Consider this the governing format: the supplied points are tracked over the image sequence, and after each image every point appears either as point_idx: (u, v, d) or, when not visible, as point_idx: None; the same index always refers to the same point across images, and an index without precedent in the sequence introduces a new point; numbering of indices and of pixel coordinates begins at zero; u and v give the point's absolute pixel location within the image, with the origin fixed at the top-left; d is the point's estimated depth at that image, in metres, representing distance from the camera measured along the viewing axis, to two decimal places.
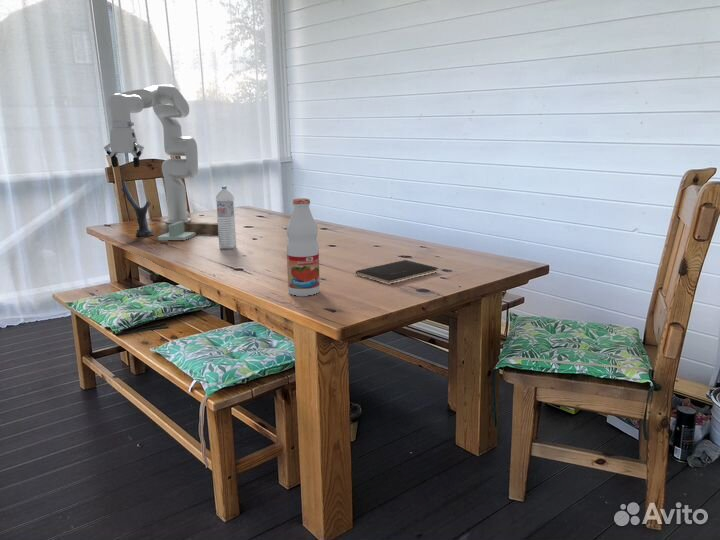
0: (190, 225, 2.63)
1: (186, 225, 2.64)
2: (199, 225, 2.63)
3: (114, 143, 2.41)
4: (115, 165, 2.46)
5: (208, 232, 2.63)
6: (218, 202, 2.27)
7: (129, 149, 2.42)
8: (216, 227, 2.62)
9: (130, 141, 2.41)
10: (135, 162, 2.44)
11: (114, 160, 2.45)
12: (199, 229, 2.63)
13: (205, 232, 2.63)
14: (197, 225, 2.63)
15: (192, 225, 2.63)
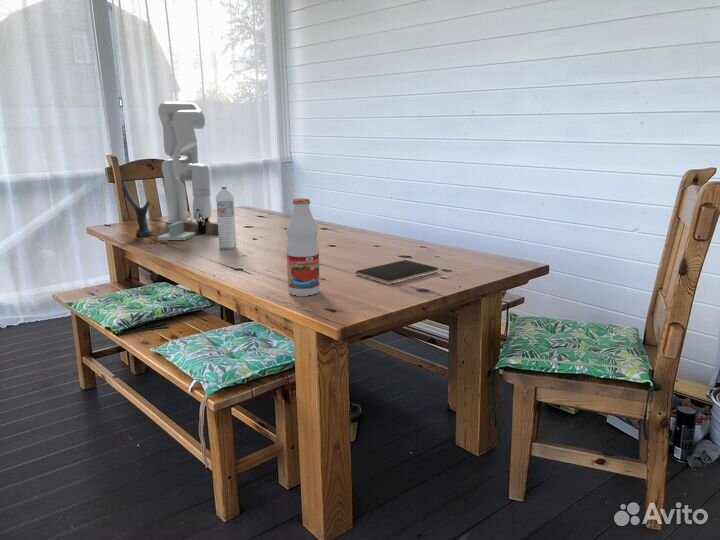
0: (190, 224, 2.63)
1: (186, 224, 2.63)
2: None
3: (205, 209, 2.60)
4: None
5: (208, 232, 2.63)
6: (218, 202, 2.27)
7: (210, 213, 2.66)
8: (216, 227, 2.61)
9: (210, 206, 2.66)
10: None
11: None
12: None
13: None
14: (197, 224, 2.63)
15: (192, 224, 2.63)
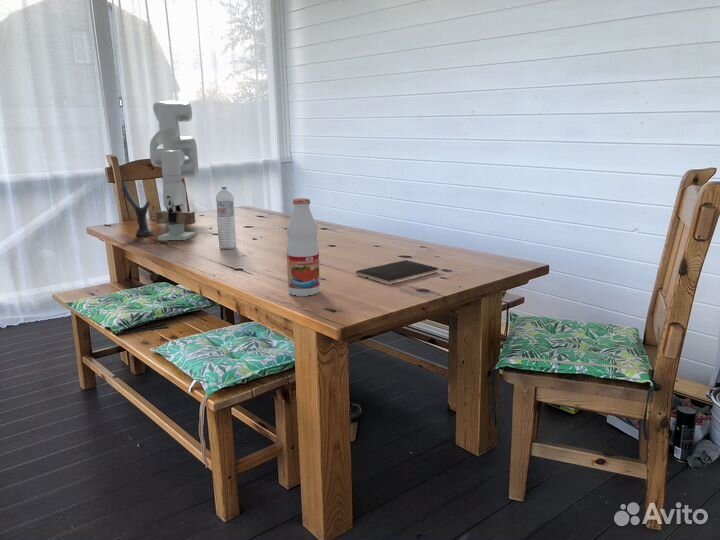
0: (161, 214, 2.52)
1: (157, 214, 2.52)
2: None
3: (176, 197, 2.49)
4: None
5: (180, 221, 2.52)
6: (218, 202, 2.27)
7: (182, 200, 2.55)
8: (188, 216, 2.51)
9: (182, 193, 2.55)
10: None
11: None
12: None
13: (177, 221, 2.52)
14: None
15: (163, 214, 2.52)
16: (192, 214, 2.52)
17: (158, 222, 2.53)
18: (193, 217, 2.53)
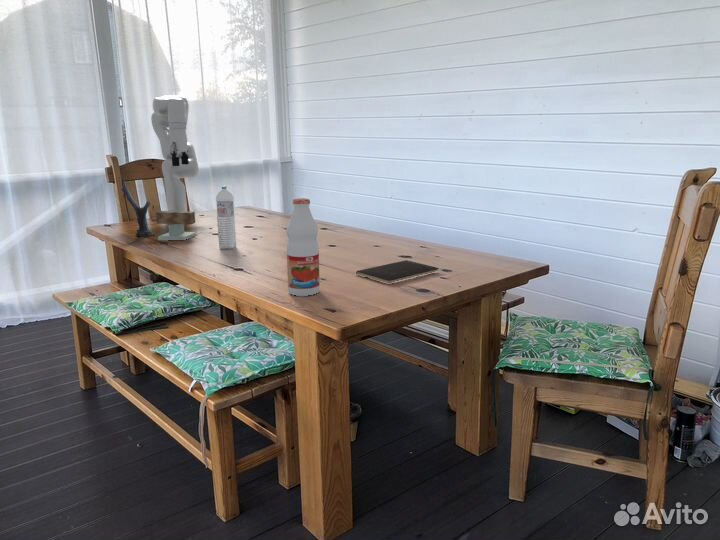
0: (161, 214, 2.52)
1: (157, 214, 2.52)
2: (170, 214, 2.52)
3: (181, 143, 2.61)
4: None
5: (180, 221, 2.52)
6: (218, 202, 2.27)
7: (187, 148, 2.67)
8: (188, 216, 2.51)
9: None
10: None
11: None
12: (170, 218, 2.52)
13: (177, 221, 2.52)
14: (168, 214, 2.52)
15: (163, 214, 2.52)
16: (192, 214, 2.52)
17: (158, 222, 2.53)
18: (193, 217, 2.53)
